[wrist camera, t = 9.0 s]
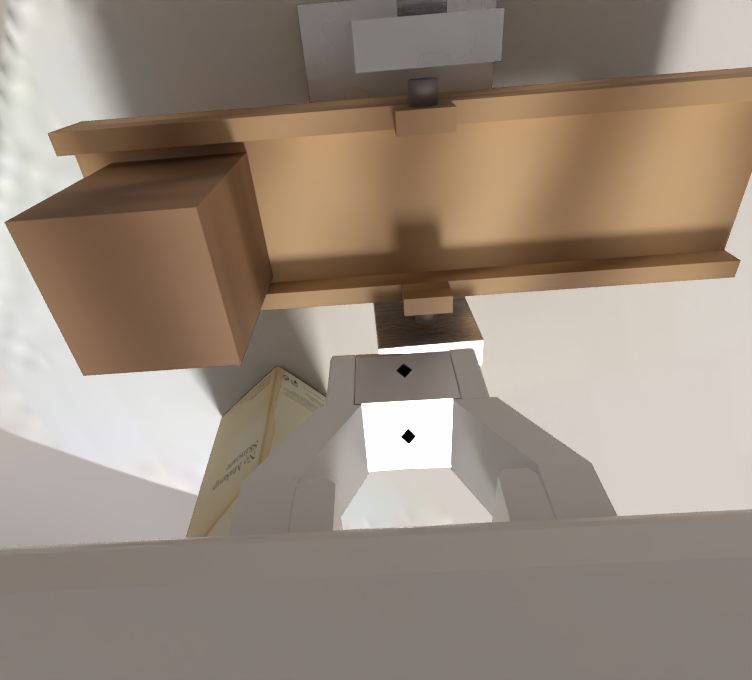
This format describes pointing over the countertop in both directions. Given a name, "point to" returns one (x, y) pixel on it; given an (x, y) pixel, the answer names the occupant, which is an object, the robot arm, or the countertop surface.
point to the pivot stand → (390, 78)
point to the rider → (151, 263)
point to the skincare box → (249, 445)
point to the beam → (474, 185)
